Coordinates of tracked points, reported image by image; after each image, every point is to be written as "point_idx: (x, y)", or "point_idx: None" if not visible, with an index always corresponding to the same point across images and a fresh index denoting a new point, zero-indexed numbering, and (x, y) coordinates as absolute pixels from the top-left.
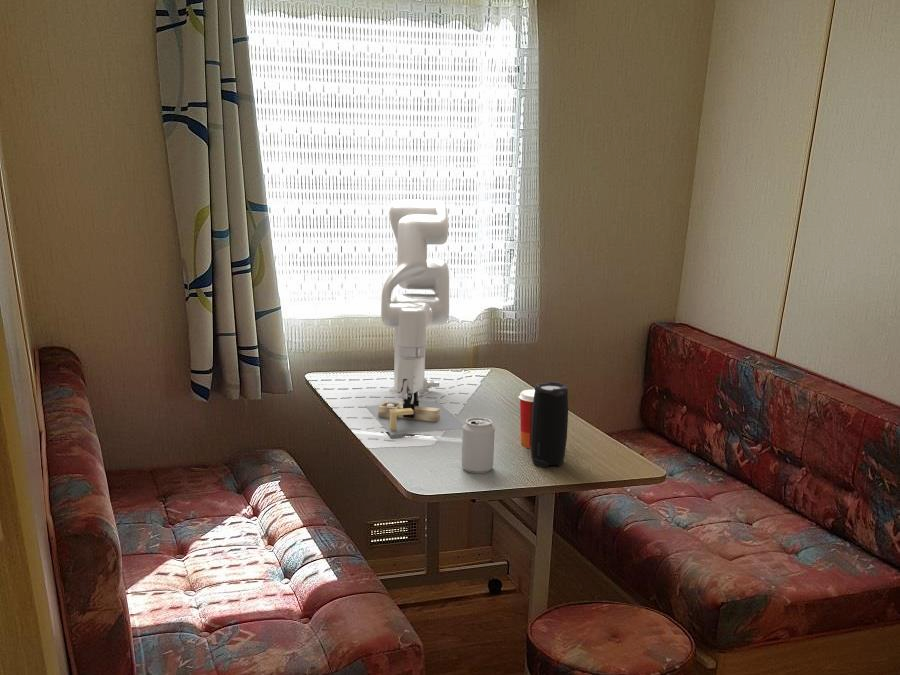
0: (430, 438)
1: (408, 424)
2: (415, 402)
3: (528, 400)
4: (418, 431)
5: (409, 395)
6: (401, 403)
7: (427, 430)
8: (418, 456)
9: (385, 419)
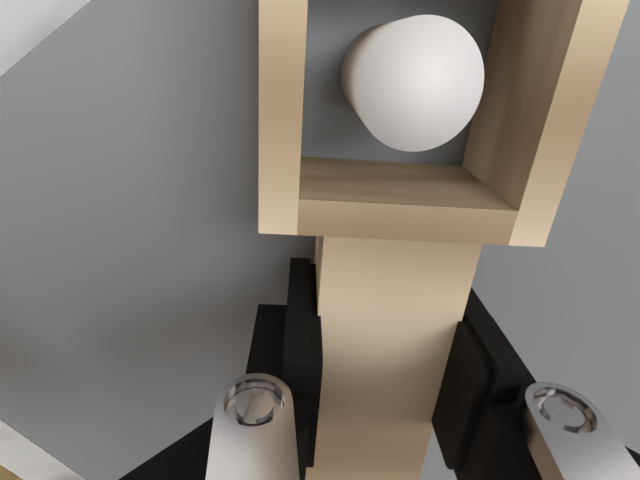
0: (30, 467)
1: (157, 324)
2: (449, 440)
3: None
4: (26, 425)
5: (541, 453)
6: (528, 231)
7: (88, 463)
8: None
9: (217, 56)
